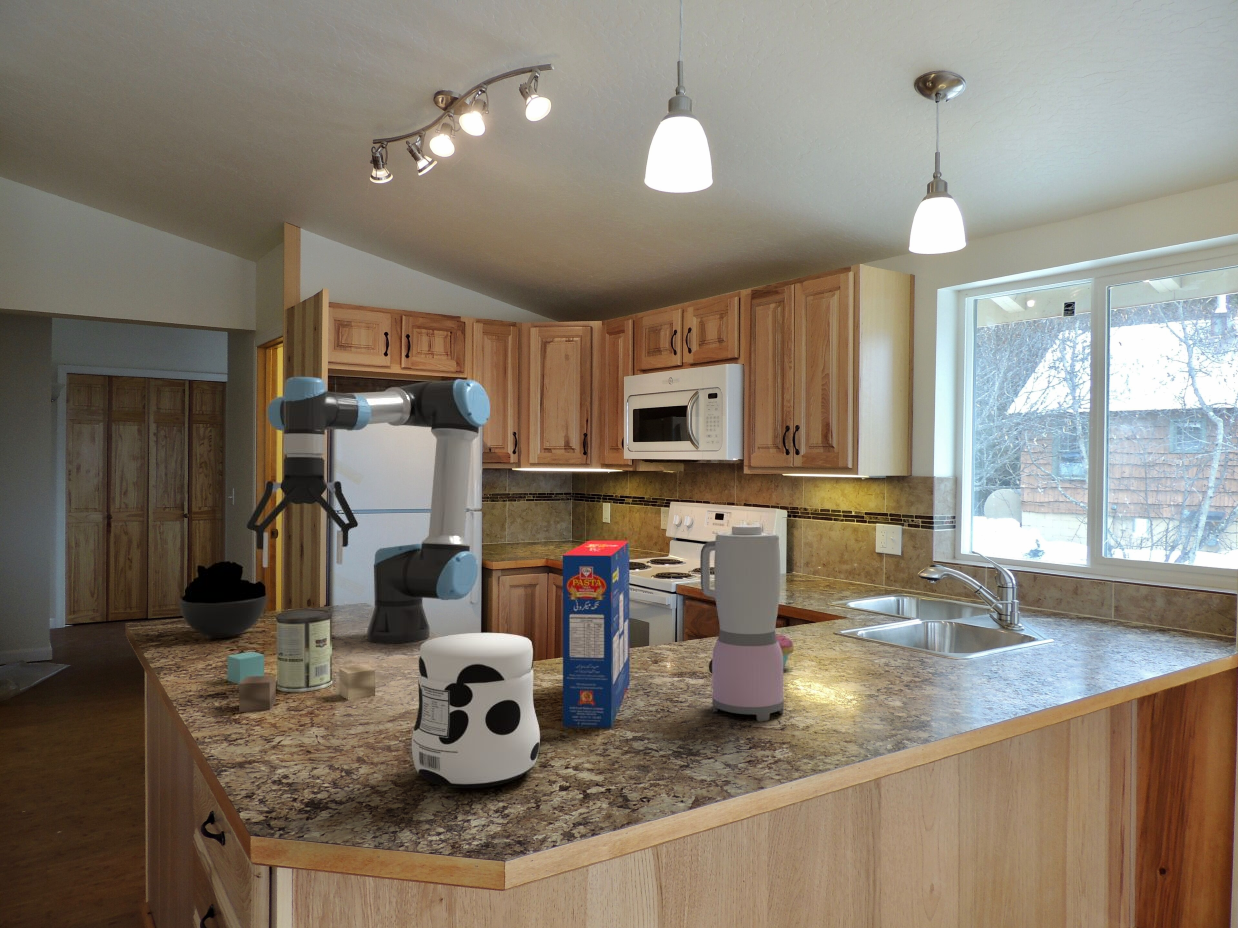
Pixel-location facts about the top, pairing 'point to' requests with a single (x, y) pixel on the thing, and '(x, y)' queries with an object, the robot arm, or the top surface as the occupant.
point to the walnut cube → (257, 693)
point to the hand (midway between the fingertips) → (302, 565)
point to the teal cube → (244, 666)
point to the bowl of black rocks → (222, 601)
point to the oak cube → (356, 682)
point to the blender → (745, 621)
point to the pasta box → (595, 632)
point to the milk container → (475, 710)
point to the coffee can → (304, 650)
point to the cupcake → (785, 647)
